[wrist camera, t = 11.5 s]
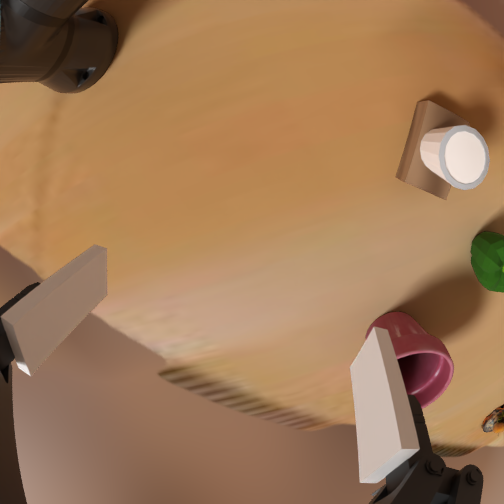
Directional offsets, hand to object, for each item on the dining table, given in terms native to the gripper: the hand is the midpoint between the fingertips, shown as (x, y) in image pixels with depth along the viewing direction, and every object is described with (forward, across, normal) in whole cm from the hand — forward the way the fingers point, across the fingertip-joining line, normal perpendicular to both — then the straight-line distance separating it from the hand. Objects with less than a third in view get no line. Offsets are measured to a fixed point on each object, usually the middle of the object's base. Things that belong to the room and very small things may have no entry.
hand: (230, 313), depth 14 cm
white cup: (+25, +18, +12) cm, 33 cm away
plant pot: (+29, +25, -17) cm, 42 cm away
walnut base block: (+29, +18, +12) cm, 36 cm away
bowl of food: (+29, +77, -38) cm, 90 cm away
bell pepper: (+29, +34, +2) cm, 45 cm away
